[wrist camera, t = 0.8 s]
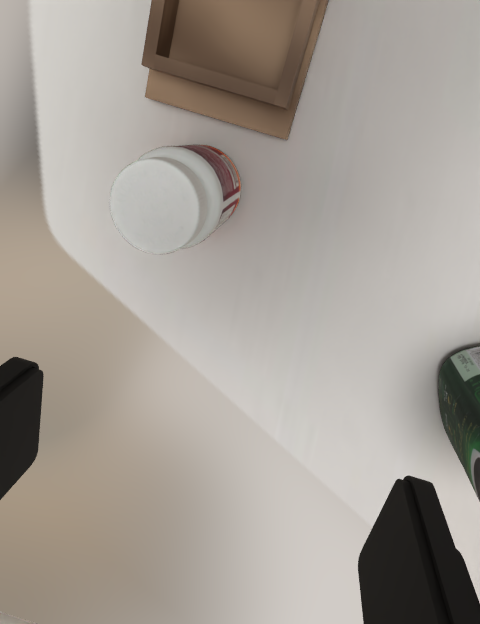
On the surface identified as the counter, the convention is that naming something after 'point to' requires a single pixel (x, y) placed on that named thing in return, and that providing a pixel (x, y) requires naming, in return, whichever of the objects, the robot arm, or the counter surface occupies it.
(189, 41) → the caddy
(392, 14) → the counter surface
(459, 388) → the coffee jar
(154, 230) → the pill bottle
